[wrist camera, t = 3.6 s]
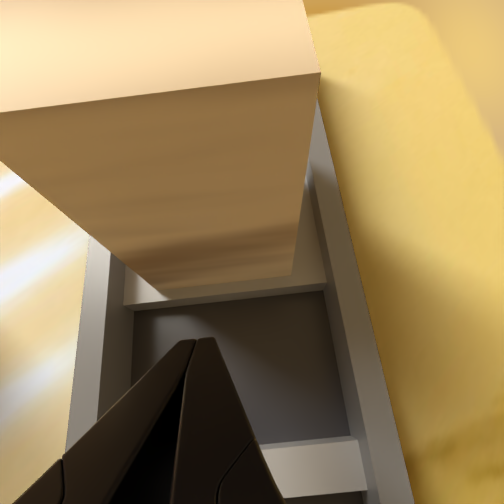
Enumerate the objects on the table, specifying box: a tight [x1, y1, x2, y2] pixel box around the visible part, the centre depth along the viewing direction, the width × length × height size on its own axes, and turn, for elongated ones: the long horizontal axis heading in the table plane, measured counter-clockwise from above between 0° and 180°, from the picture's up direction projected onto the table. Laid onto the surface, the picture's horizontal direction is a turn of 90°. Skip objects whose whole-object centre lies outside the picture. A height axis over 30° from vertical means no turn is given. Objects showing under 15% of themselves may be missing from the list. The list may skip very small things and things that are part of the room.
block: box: [0, 0, 321, 291], centre depth 11 cm, size 6×6×10 cm
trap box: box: [65, 99, 415, 504], centre depth 14 cm, size 30×11×3 cm, turn 5°
